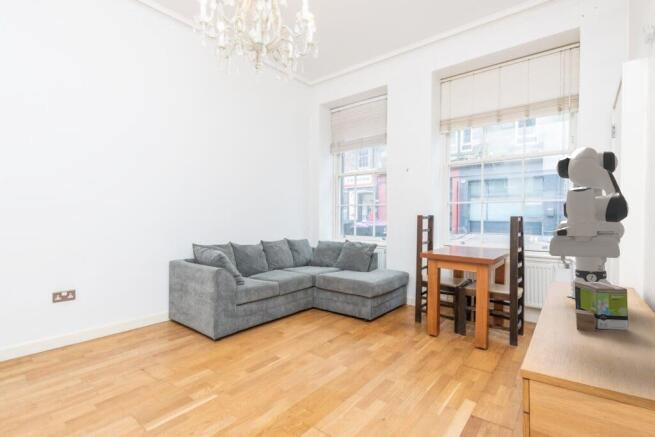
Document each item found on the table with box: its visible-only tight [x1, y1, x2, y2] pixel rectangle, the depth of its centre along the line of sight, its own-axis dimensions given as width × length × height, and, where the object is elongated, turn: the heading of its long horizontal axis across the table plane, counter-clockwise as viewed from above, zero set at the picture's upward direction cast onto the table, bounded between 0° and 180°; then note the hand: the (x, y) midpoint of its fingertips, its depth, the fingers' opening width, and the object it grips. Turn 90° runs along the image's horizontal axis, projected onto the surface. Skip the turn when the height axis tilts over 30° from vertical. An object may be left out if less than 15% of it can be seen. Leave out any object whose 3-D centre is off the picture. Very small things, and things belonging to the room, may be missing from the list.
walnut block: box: [575, 309, 596, 332], centre depth 118 cm, size 5×5×6 cm
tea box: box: [574, 282, 629, 331], centre depth 124 cm, size 15×10×15 cm, turn 168°
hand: (583, 269), depth 119 cm, fingers open, 8 cm apart
